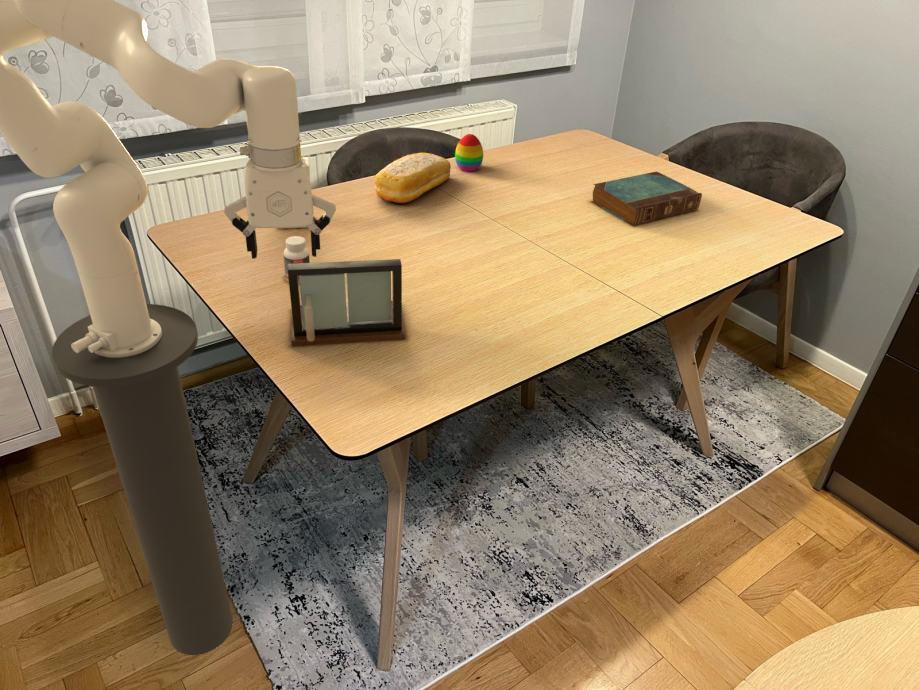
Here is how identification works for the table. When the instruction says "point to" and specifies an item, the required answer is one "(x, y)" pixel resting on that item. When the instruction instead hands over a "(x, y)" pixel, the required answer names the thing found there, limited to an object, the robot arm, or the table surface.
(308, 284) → the pane
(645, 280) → the table surface
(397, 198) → the bread
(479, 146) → the decorative egg
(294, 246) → the pill bottle
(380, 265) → the window frame
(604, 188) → the book
